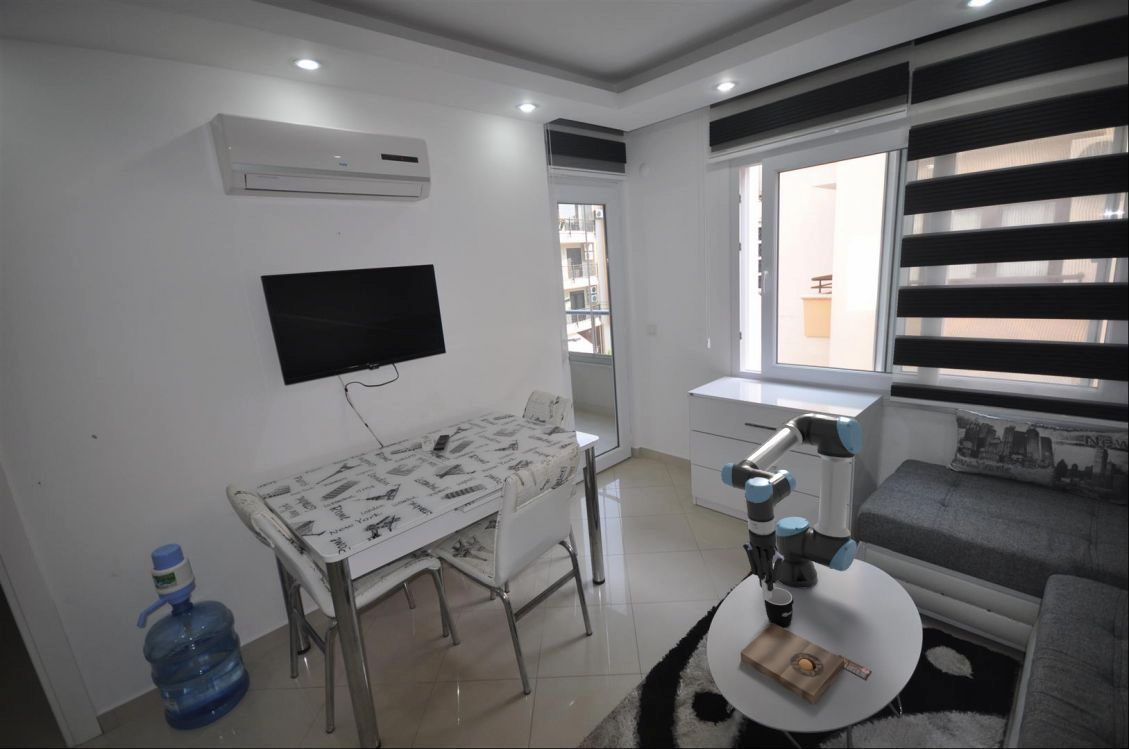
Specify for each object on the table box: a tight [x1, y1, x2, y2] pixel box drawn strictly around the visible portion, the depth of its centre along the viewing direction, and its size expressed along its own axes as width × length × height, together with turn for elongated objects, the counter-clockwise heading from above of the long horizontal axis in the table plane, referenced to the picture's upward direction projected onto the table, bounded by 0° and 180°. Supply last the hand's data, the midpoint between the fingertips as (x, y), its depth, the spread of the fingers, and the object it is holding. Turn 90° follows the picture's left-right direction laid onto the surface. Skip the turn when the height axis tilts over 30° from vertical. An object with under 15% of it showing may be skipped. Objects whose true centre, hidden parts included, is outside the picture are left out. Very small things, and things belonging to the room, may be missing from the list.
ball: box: [798, 659, 814, 671], centre depth 148 cm, size 4×4×4 cm
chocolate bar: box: [838, 654, 872, 682], centre depth 148 cm, size 11×5×1 cm, turn 37°
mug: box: [763, 587, 795, 629], centre depth 169 cm, size 12×9×10 cm
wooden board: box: [740, 623, 845, 706], centre depth 152 cm, size 23×18×3 cm
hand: (767, 597), depth 153 cm, fingers closed
